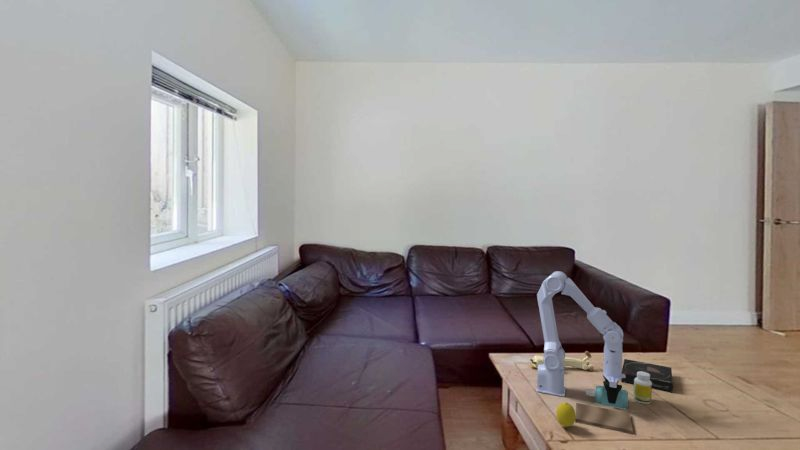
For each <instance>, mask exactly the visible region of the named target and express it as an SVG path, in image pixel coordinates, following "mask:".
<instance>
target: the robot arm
mask: <svg viewBox="0 0 800 450" xmlns="http://www.w3.org/2000/svg"><path fill="white" fill-rule="evenodd" d="M559 292H561V295H565V296H568V297H571V299H573V301H575V302H576V303H577V305H579V307H580V308H581V309H582V310H583V311H584V312H585V313H586V319H587V320H588V321H589V322H590V324H592V326H593V327H594V328H595V329H596V330H597V331H598V332H599V333H600V334H602V338H603V341H604V346H603V364H602V365H603V366H602V376H603V379H604V380H603V382H602V383H603V384H602V385H603V386H604V387H605V389H606V392H607V398H608V402H609V403H612V404H615V403H616V400H617V396H618V394H619V392H620V390H621V389H623V385H622V384H618V383H619V382H620V380H621V378H626V376H625V374H622V369H623V342H624V331H623V329H622V328H621V326H620V325H618V323H616V321H613V320H612V319H611V318H610V317H609V316H608V314H607V311H606V310H605V309H602V308H600V307H597V306H596V307H595V306H594V305H593V303H592V302H591V301H590V300H589V299H588V298H587V296H586V295H585V294H584V293H583V292H582V290H580V288H579V287H578V286H577V285H576V283H575V282H574V281H573V279H571V278H570V277H568V275H566V273H565V272H563V271H559V270H557V271H553V272H552V273H551V274H550V275H549V276H547V277H545V279H544V280H543V281H542V283H541V285H540V288H539V290H538V292H537V293H536V298H537V304H538V308H539V309H538V310H539V311H538V312H539V317H540V322H541V327H542V328H541V330H542V334H543V335H542V336H543V341H544V344H543V345H544V347H543V352H544V353H543V354H544V355H543V363H544V364H543V365H541V364H539V365H538V369H537V374H536V375H537V376H536V377H537V379H536V392H538V393H544V394H548V395H553V396H554V395H555V396H558V397H559V396H560V397H563V398H564V397H565V395H566V386H565V366H564V365H563V363H562V361H563V360H564V359H565V357H566V352H565V350H564V348H563V347H562V343H561V342H560V339H559V335H558V327H557V323H556V315H555V310H554V304H553V303H554V302H553V297H554V296H555V295H556V294H557V293H559Z"/></svg>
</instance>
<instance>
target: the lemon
mask: <svg viewBox="0 0 800 450" xmlns="http://www.w3.org/2000/svg"><path fill="white" fill-rule="evenodd" d="M555 414H556V415H555V416H556V420H557V422H558V424H560V425H561V426H563V428H566V429H567V428H568V427H571V426H573V425H574V424H575V423H576V422H575V415H576V410H575V409H574V407H573V405H572V404H570V403H568V402H566V401H565V402H561V403H560V404H559V405H557V408H556V413H555Z"/></svg>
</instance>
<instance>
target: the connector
mask: <svg viewBox="0 0 800 450" xmlns="http://www.w3.org/2000/svg"><path fill="white" fill-rule="evenodd" d="M585 395H586V396H591V397H595V398H594V399H595V400H594V401H595V402H596V404H599V405H601V406H608V407H611V408H612V407H613V408H618V409H623V410H624V408H625V409H626V410H627V409H628V407H629V404H628V403H629V392H628V391H627V390H625V389H623V388H622V389H621V390H620V392H619V394H618V396H617V400H616V403H615V404H612V403H609V402H608V398H607V392H606V389H605V387H604V385H596V386H595V390H592V389H591V390H589V389H586V390H585Z"/></svg>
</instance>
